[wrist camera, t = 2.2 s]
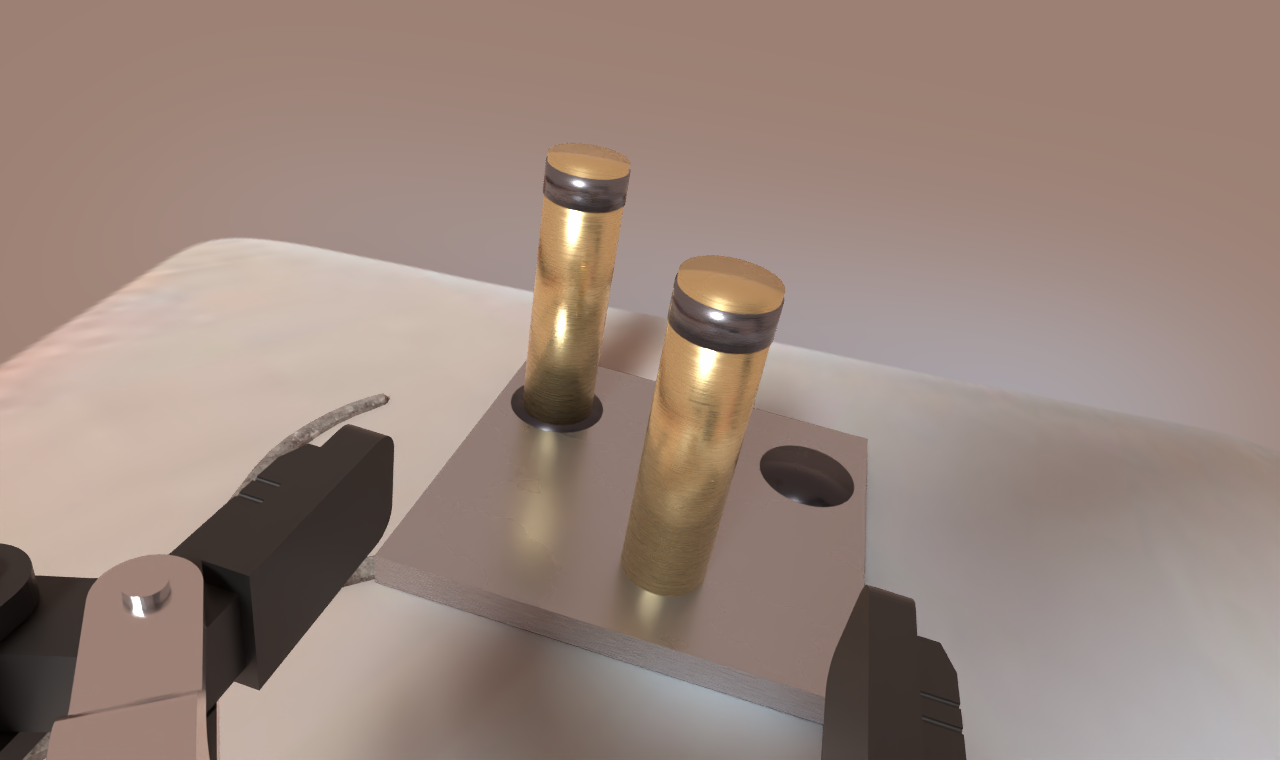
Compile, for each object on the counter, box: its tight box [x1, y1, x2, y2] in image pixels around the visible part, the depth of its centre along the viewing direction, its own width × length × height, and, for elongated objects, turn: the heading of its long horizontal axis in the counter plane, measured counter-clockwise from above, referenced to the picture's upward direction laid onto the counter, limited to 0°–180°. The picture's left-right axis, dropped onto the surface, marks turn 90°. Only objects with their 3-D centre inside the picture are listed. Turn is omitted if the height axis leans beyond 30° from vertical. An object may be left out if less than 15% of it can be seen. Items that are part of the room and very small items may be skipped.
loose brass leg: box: [621, 256, 785, 597], centre depth 26 cm, size 3×3×11 cm
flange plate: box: [375, 360, 867, 724], centre depth 33 cm, size 16×15×1 cm
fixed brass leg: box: [523, 143, 630, 425], centre depth 33 cm, size 3×3×11 cm
